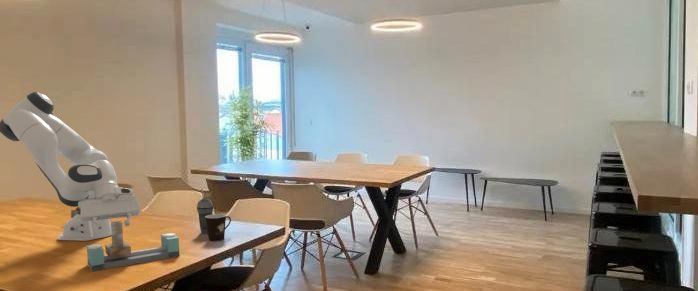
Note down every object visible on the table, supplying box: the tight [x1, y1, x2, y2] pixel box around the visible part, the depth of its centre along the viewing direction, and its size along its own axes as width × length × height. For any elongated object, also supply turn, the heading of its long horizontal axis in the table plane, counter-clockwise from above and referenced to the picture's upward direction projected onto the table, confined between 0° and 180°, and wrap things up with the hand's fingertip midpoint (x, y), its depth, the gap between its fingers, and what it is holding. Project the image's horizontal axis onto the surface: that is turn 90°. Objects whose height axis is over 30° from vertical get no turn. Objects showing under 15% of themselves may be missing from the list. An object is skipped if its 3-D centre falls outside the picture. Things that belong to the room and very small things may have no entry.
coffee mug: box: [205, 213, 232, 242], centre depth 219 cm, size 12×9×10 cm
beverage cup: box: [196, 188, 214, 235], centre depth 230 cm, size 7×7×20 cm
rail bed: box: [86, 232, 181, 272], centre depth 189 cm, size 30×10×8 cm, turn 124°
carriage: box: [104, 220, 132, 258], centre depth 186 cm, size 7×9×12 cm
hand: (113, 226), depth 187 cm, fingers open, 8 cm apart
